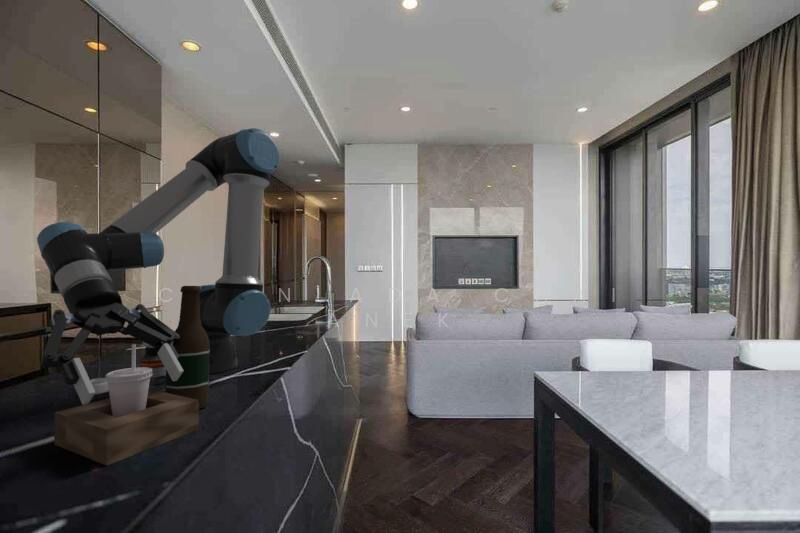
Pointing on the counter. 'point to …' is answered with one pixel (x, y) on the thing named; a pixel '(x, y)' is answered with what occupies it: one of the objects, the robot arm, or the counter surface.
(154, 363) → the supplement bottle
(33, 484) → the counter surface
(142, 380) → the smoothie
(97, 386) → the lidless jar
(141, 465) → the counter surface
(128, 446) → the socket board
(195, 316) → the beer bottle
